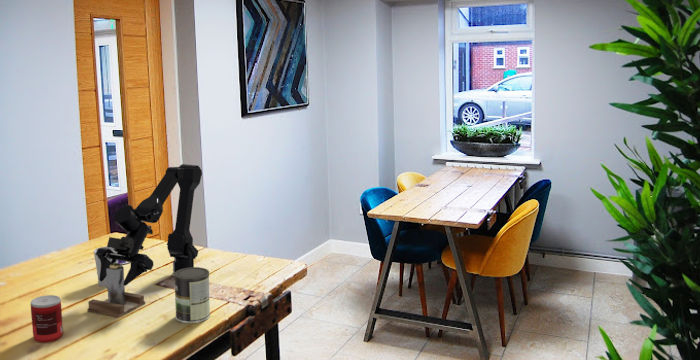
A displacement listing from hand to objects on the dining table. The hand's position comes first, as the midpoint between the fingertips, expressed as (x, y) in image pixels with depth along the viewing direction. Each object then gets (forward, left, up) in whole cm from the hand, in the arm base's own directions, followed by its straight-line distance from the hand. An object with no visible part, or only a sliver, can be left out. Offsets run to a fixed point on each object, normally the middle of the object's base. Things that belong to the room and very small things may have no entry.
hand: (112, 282), depth 205 cm
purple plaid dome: (-7, -48, -9) cm, 50 cm away
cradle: (-1, -1, -9) cm, 9 cm away
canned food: (+19, +14, -9) cm, 25 cm away
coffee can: (-21, +16, -9) cm, 28 cm away
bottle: (-1, -1, -8) cm, 8 cm away
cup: (-1, -24, -9) cm, 26 cm away
